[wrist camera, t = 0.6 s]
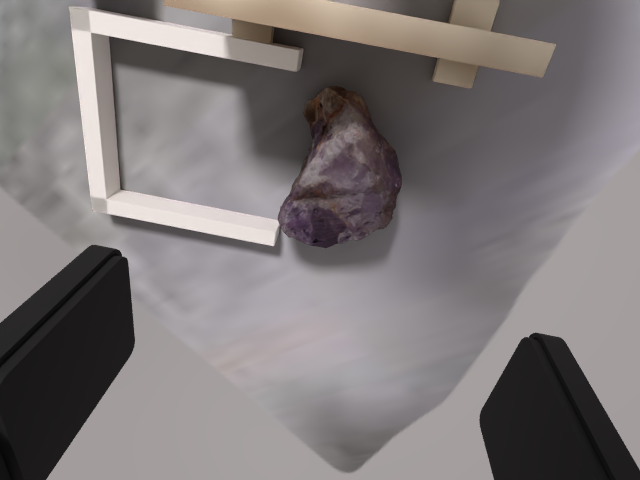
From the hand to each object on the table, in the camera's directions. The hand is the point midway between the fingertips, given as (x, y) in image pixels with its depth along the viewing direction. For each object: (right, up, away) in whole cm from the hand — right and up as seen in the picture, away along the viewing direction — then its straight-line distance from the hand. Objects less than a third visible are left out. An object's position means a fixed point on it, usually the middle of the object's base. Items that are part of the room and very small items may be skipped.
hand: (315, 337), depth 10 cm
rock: (+2, +9, +27) cm, 29 cm away
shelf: (+3, +19, +22) cm, 29 cm away
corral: (-10, +12, +27) cm, 31 cm away
